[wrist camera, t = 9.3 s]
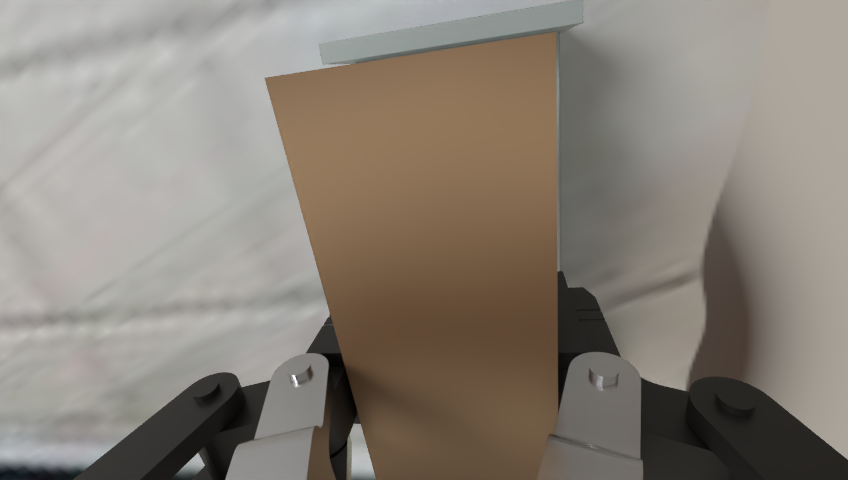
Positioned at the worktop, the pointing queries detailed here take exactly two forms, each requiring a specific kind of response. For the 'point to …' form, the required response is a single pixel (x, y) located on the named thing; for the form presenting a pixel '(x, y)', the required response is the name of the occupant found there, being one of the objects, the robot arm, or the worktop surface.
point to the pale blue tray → (463, 44)
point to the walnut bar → (437, 248)
